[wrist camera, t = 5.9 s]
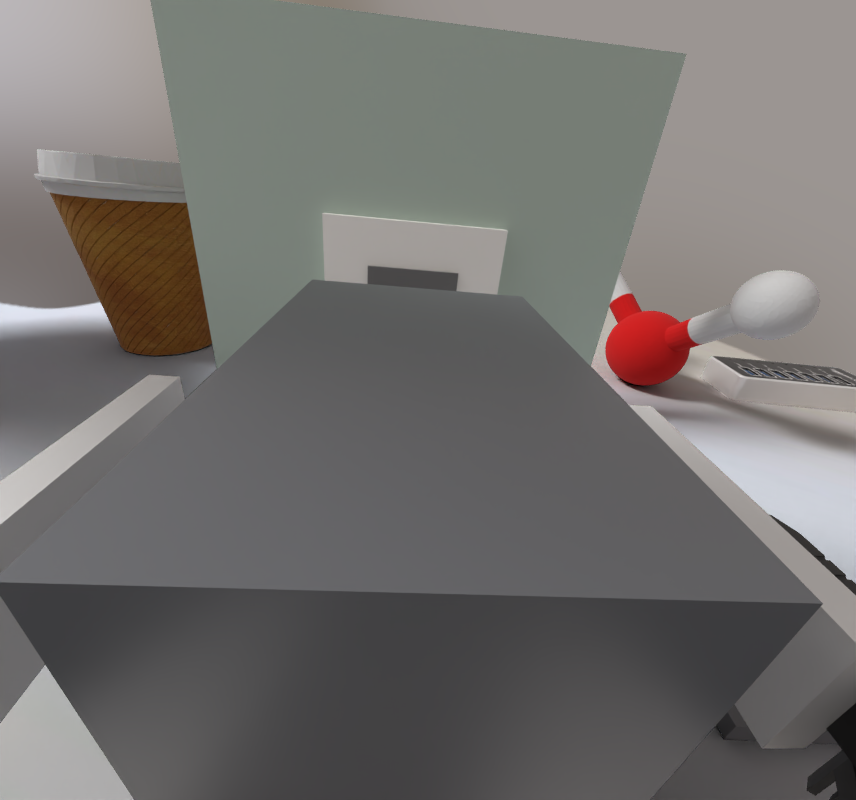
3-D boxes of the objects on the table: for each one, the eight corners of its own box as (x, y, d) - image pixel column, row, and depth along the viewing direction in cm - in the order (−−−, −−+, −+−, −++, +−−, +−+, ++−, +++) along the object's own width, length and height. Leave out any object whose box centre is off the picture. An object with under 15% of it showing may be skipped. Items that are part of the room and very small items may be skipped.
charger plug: (239, 959, 7) (-10, 581, 2) (336, 526, 16) (328, 264, 11) (519, 949, 7) (822, 604, 3) (461, 530, 16) (505, 279, 11)
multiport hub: (696, 379, 34) (707, 354, 33) (823, 391, 34) (839, 367, 33) (728, 404, 30) (742, 377, 29) (872, 418, 30) (891, 391, 29)
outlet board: (214, 401, 23) (133, -27, 15) (256, 356, 29) (215, 35, 21) (580, 423, 25) (699, 47, 16) (547, 375, 31) (621, 84, 22)
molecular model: (541, 343, 38) (568, 229, 33) (589, 341, 39) (621, 233, 35) (709, 451, 23) (801, 275, 18) (773, 440, 25) (871, 277, 20)
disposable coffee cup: (264, 342, 32) (244, 169, 26) (127, 378, 25) (59, 151, 19) (200, 314, 36) (172, 162, 31) (70, 338, 29) (2, 145, 24)
